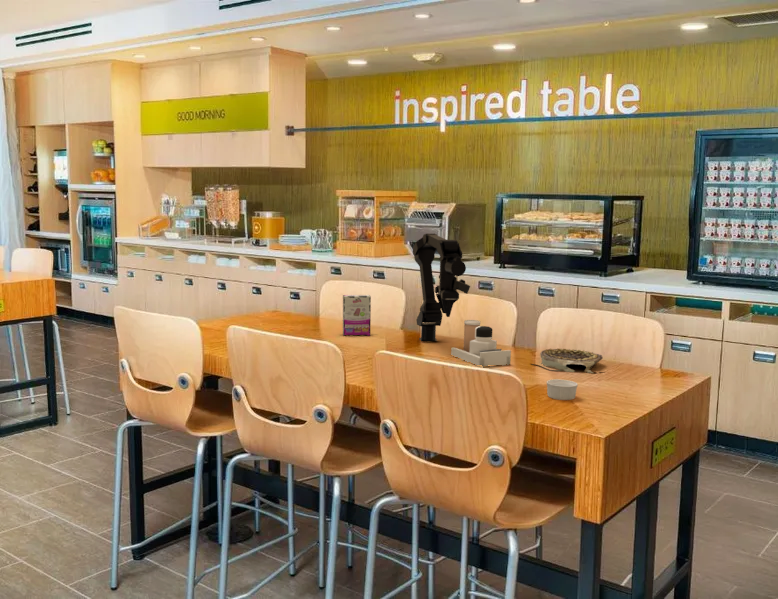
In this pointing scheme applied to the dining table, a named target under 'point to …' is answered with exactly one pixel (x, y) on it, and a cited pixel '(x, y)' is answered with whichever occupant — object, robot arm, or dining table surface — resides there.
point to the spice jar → (469, 332)
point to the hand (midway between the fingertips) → (446, 315)
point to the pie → (568, 359)
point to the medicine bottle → (482, 340)
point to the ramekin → (561, 389)
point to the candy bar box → (356, 314)
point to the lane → (484, 356)
